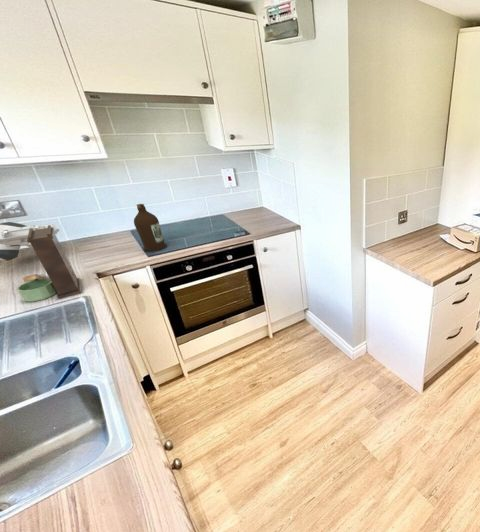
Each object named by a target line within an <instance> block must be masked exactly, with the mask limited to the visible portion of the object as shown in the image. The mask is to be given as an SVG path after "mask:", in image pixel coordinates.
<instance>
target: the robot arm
mask: <svg viewBox="0 0 480 532" xmlns="http://www.w3.org/2000/svg"><path fill="white" fill-rule="evenodd" d="M48 225H51V227H53V228H54V233H55V235H57V234H58V232H60V229H59V228H57V227H56V225H55V224H54V223H49V224H43V225H39V224H35V225H32V226H29V225H25V224H22V223H19V222H14V221H13V222H12V221H6V222H0V261H2V262H9V261H12V260H15V259H17V258H18V257H19V253H20V249H21V247H28V248H31V249H33V247H32V245H31V243H28V242H27V237H28V233H29V230H30V228H33V230H38V229H45V228H48Z"/></svg>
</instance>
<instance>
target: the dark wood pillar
mask: <svg viewBox="0 0 480 532" xmlns="http://www.w3.org/2000/svg"><path fill="white" fill-rule="evenodd" d="M47 225H48V224H47ZM27 242H28V243H31V245H32V247H33V248H32V249H33V251H34V253H35V254H36V256H37V258H38V260H39V262H40V263H41V265H42V267H43V269H44V271H45V272H46V274H47V276H48V278H50V280H51V281H52V283H53V285H54V287H55V289H56V290H57V295H56V296H57V299H58V300H60V299H64V298H68V297H72V296H77V295H79V294H82V284H81V279H80V277H78V276H77V274H76V272H75V271H74V268H73V267H72V265H71V262H70V261H69V259H68V257H67V255H66V253H65V251H64V248H63V247H62V245H61V243H60V241H59V239H58V237H57V234H55V233H54V228H53V227H51V225H48V228H45V229H38V230H33V228H30V230H29V233H28V237H27Z"/></svg>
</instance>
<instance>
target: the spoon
mask: <svg viewBox="0 0 480 532" xmlns="http://www.w3.org/2000/svg"><path fill="white" fill-rule="evenodd" d="M43 278H47V276H46V274H44V273H43V274H39V273H34V274H30V275H25V276H22V277H21V279H22V280H23V283H26V282H29V281H32V280H37V279H43Z"/></svg>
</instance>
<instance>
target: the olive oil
mask: <svg viewBox="0 0 480 532" xmlns="http://www.w3.org/2000/svg"><path fill="white" fill-rule="evenodd" d="M136 208H137V211H138V212H137V214H136V215H135V217H134V219H133V225H134V228H135V230H136V231H137V234H138V236H139V238H140V240H141V243H142V245H143V248H144V250H145V251H146V252H156V251H161V250H163V249H164V248H166V247H167V246H166V242H165V237H164V236H163V235H164V234H163V232H162V229H161V224H160V220H159V218H158V217H157V216H156V215H155V214H153V213H151V212H150V211H148V210H147V208H146V206H145V204H144V203H138V204H136Z"/></svg>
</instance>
